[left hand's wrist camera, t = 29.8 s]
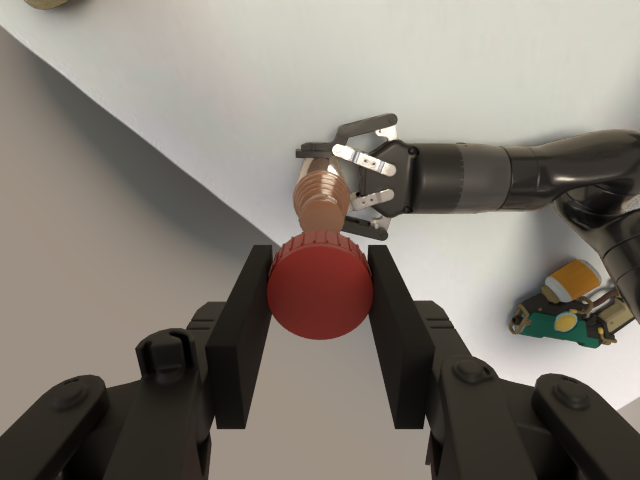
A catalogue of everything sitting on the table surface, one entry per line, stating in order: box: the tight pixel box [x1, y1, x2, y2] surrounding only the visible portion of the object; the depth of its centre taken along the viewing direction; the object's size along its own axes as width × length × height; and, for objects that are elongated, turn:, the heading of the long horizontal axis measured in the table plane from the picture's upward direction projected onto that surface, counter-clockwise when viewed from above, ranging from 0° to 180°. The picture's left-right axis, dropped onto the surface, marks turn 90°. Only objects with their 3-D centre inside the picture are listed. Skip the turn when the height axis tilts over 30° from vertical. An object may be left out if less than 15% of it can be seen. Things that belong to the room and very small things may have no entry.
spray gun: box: [509, 259, 635, 348], centre depth 48 cm, size 4×17×15 cm
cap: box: [267, 229, 373, 340], centre depth 14 cm, size 4×4×2 cm
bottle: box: [293, 156, 350, 233], centre depth 33 cm, size 5×5×22 cm
